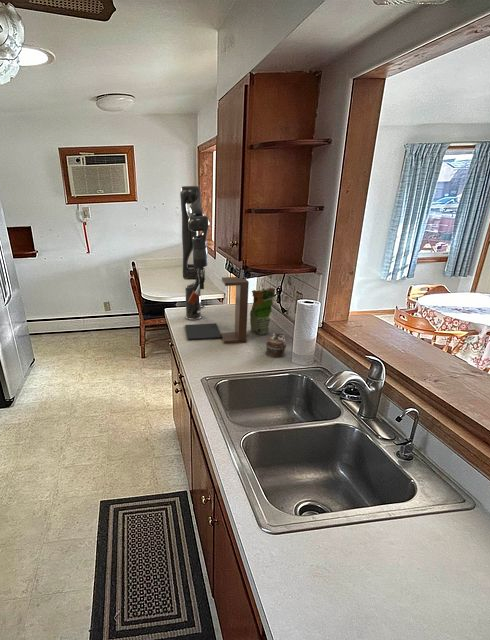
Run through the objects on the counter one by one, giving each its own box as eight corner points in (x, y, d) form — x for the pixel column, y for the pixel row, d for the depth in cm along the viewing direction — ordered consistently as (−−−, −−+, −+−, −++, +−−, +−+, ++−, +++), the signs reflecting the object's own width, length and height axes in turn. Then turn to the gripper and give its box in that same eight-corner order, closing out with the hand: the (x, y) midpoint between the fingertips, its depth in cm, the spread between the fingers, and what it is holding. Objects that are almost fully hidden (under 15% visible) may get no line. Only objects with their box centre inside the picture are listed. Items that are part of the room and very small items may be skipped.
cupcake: (266, 349, 195) (267, 330, 191) (286, 350, 192) (287, 331, 188) (264, 356, 187) (265, 337, 183) (284, 358, 184) (286, 339, 180)
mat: (185, 326, 230) (185, 324, 229) (215, 324, 230) (215, 323, 230) (188, 340, 210) (188, 338, 209) (221, 338, 210) (221, 336, 210)
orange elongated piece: (201, 274, 208) (207, 277, 209) (188, 300, 215) (193, 302, 216) (202, 276, 205) (208, 279, 206) (188, 302, 212) (194, 305, 213)
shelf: (220, 335, 215) (221, 277, 201) (241, 334, 215) (243, 276, 201) (224, 343, 204) (225, 283, 190) (246, 342, 204) (248, 281, 190)
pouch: (272, 329, 220) (276, 285, 209) (268, 336, 210) (271, 291, 199) (253, 327, 224) (255, 284, 213) (247, 334, 214) (249, 289, 204)
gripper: (208, 259, 195) (210, 292, 204) (206, 252, 207) (207, 283, 216) (194, 261, 195) (195, 293, 204) (192, 253, 207) (193, 284, 216)
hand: (201, 288), depth 210 cm, fingers closed on orange elongated piece
